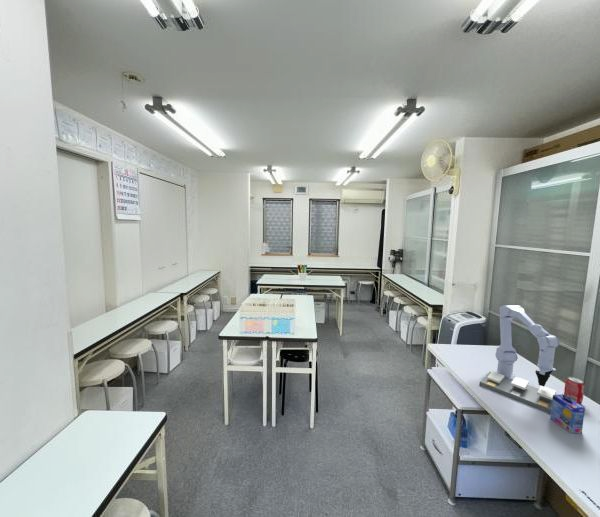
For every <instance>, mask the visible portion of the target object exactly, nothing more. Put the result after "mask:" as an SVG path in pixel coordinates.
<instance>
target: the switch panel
mask: <svg viewBox="0 0 600 517" xmlns="http://www.w3.org/2000/svg"><path fill="white" fill-rule="evenodd" d="M491 372H492V371H489V372H488V373H487V374H486V375H485V376H484V377H483V378H482V379H481V380H480V381H479V386H481V387H483V388H487V389H489V390H491V391H493V392H497V393H499V394H501V395H504V396H507V397H509V398H511V399H514V400H516V401H519V402H521V403H524V404H526V405H529V406H531V407H534V408H537V409H538V410H541V411H544V412H547V413H549V414H551V407H552V400H551V399H548V398H545V397H542V396H540V395H537V392H538V390H539V388H538V387H534V386H532V385H529V384H528V386H527V387H526V389H525V390H523V389H521V388H518V387H515V386H513V385H511V382H512V381H513V379H514V378H512V379H510V378H507V377H504V379H503V380H502V381H501V382H500V384H499V383H497V382H494V381H491V380H489V379H487V377H488V376H489V375H490V373H491Z"/></svg>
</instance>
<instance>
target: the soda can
mask: <svg viewBox="0 0 600 517" xmlns="http://www.w3.org/2000/svg"><path fill="white" fill-rule="evenodd" d="M584 383H585V382H584V381H583V380H582V379H580V378H577V377H573V376H567V378H566V379H565V383H564V389H563V390H564V391H563V395H565V396H567V397H568V398H570V399H571V400H572V401H574V402H576V403H578V404H580V405H581V404H582V403H583V400H584V393H585V385H586V384H584Z"/></svg>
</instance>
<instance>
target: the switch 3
mask: <svg viewBox="0 0 600 517" xmlns="http://www.w3.org/2000/svg"><path fill="white" fill-rule="evenodd" d="M539 386H540V385H539ZM538 389H539V390H538V392H537V395H540V396H542V397H545V398H548V399H551V400H552V399H553V395H557V394H556V393H557V390H555V389H553V388H550V387H547V386H544V387H543V386H540V387H539V388H538Z"/></svg>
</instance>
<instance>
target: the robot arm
mask: <svg viewBox="0 0 600 517" xmlns="http://www.w3.org/2000/svg"><path fill="white" fill-rule="evenodd" d="M515 318H516V319H519V321H520V322H522V323H523V324H524V325H525V326H527V327H528V332H530V333H531V334H532V335H533V336H534V338H536V339H537V344H538V345H539V346H538V348H539V351H538V361H537V367H538V369H535V375H536V376H537V382H538V386H543V387H546V386H545V385H546V383H547V382H548V381H549V378H550V377H551V374H552V373H553V372H556V370H557V369H556V368H554V360H555V352H556V348H557V347H559V345H560V340H559V339H558V337H557V336H556V335H553V334H551V333H549V332H548V330H546V329H544V328H543V326H542V325H541V324H538V323H535V322H534V321H533V320H532V319H531V318H530V317H529V316H528V315H527V313H526V312H525V309H524V308H523V306H521V305H520V304H518V305H517V304H516V305H508V304H507V305H505V304H503V305H501V306H500V307H499V331H500V335H499V337H500V345H499V346H498V347H496V352H495V358H496V359H497V367H496V368H497V370H496V371H495V372H496V373H499V374H502V375H505V377H507V378H510V379H514V376H515V374H514V373H513V372H514V364H515V362H517V361H518V354H517V350H516V349H515V348H514V347H513V344H512V343H513V342H512V341H513V338H512V320H513V319H515Z"/></svg>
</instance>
